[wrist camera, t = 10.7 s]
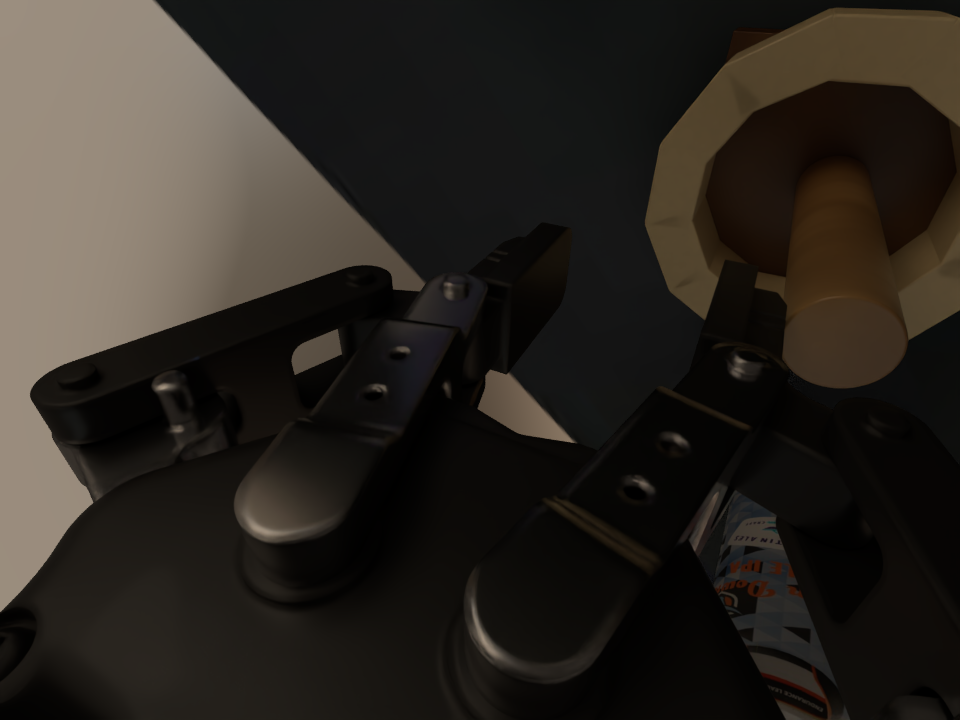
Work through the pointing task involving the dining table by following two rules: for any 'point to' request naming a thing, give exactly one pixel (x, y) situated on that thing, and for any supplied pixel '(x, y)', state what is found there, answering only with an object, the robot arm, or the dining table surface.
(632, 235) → the dining table surface
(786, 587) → the beverage can
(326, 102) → the dining table surface
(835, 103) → the peg stand
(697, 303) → the tape roll
